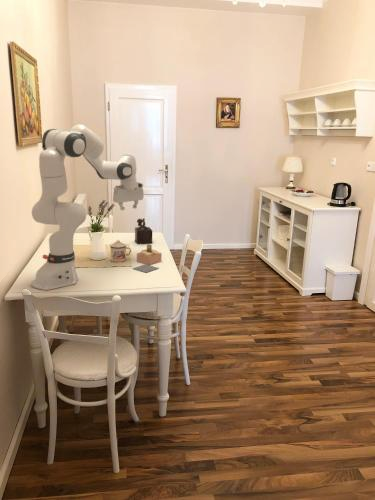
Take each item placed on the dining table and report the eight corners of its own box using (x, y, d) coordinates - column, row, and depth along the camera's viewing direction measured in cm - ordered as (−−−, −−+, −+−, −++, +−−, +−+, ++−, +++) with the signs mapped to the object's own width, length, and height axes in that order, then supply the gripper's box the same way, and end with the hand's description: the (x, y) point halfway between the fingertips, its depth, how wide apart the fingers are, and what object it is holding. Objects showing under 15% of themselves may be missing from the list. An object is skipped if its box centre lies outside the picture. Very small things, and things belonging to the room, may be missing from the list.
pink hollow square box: (149, 265, 227) (149, 256, 226) (136, 261, 233) (136, 253, 232) (161, 261, 235) (161, 252, 234) (148, 257, 241) (148, 249, 239)
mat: (146, 273, 214) (146, 272, 214) (132, 268, 220) (132, 268, 220) (158, 268, 222) (158, 267, 222) (145, 264, 228) (145, 264, 228)
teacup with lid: (111, 262, 230) (111, 243, 226) (109, 258, 238) (109, 239, 235) (132, 261, 233) (132, 241, 230) (129, 256, 242) (129, 238, 238)
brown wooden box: (133, 240, 279) (133, 214, 274) (149, 239, 282) (149, 214, 277) (137, 246, 264) (137, 219, 259) (154, 245, 267) (154, 218, 262)
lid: (149, 256, 226) (149, 248, 225) (136, 253, 232) (136, 245, 231) (161, 253, 233) (161, 245, 232) (148, 249, 239) (148, 241, 238)
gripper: (117, 186, 217) (118, 211, 221) (145, 184, 233) (145, 208, 236) (110, 185, 221) (110, 210, 225) (137, 183, 236) (137, 206, 240)
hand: (128, 209), depth 230 cm, fingers open, 8 cm apart
